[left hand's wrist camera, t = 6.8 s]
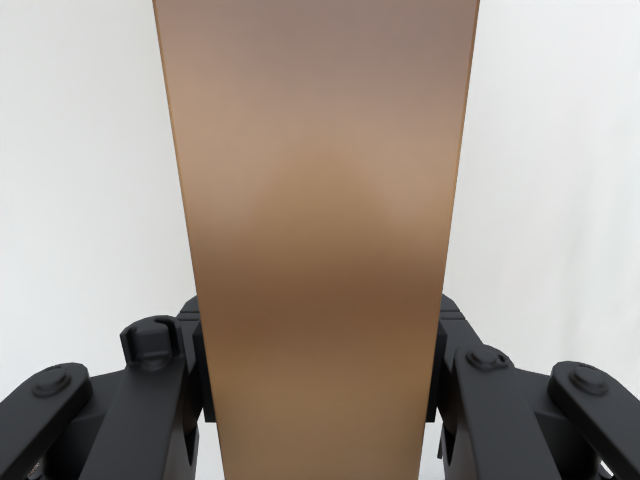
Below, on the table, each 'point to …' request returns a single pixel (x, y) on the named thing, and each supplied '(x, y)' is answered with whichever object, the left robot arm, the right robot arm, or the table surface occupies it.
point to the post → (318, 219)
